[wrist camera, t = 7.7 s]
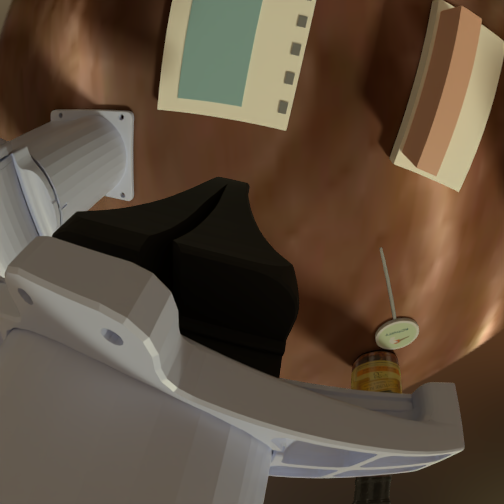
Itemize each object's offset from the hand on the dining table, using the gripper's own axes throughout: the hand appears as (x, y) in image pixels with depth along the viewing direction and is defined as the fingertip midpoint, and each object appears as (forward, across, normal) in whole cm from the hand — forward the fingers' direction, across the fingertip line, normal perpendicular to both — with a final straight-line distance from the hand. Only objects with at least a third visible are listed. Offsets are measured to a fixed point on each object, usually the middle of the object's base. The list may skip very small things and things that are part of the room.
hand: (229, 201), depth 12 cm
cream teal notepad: (+9, +3, -8) cm, 13 cm away
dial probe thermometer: (+10, -16, +12) cm, 22 cm away
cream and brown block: (+9, -12, -8) cm, 17 cm away
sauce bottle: (+10, -19, +22) cm, 31 cm away
